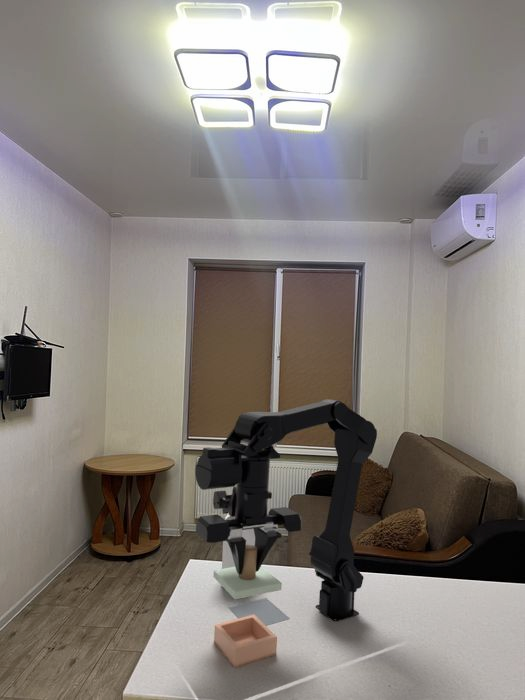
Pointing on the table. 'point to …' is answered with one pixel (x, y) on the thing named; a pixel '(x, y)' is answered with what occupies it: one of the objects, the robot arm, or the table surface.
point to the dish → (245, 640)
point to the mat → (260, 611)
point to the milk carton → (227, 555)
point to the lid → (247, 578)
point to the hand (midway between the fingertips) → (247, 572)
